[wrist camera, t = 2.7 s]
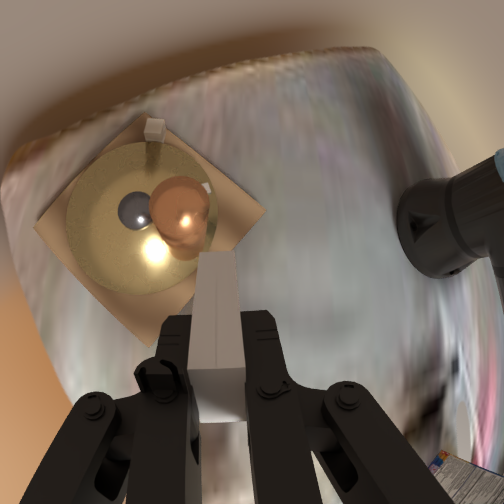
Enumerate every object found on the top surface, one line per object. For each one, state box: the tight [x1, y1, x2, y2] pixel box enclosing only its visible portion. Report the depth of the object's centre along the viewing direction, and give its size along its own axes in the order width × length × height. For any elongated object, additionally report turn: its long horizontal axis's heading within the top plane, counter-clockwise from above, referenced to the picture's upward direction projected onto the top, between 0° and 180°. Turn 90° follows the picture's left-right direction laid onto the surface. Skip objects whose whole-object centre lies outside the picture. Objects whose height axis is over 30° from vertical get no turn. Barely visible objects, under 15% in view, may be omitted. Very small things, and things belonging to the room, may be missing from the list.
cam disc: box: [66, 142, 218, 295], centre depth 26 cm, size 17×17×14 cm
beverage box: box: [428, 450, 504, 504], centre depth 25 cm, size 7×11×22 cm, turn 45°
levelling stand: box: [33, 112, 266, 348], centre depth 32 cm, size 20×20×5 cm
